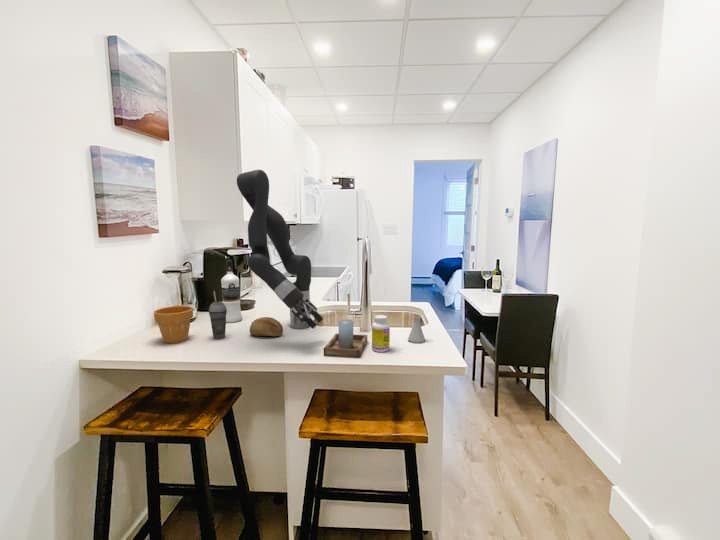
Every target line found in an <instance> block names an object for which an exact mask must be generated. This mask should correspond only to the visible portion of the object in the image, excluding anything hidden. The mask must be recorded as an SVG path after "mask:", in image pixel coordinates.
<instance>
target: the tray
mask: <svg viewBox="0 0 720 540" xmlns="http://www.w3.org/2000/svg"><path fill="white" fill-rule="evenodd" d="M338 338H339V333H335V334H334V336H333V337H331V339H330V340H329V342H327V344H325V346H324V347H323V356H324V357H335V358H352V359H353V358H354V359H359V358H360V357H361V355H362V353H363V351H364V349H365V347H366V345H367V344H366V343H368V335H367V334H355V333H353V348H352V349H341V348H338Z"/></svg>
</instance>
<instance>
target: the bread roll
mask: <svg viewBox="0 0 720 540" xmlns="http://www.w3.org/2000/svg"><path fill="white" fill-rule="evenodd" d="M283 333H284V328H283V326H282V324H281V322H280V321H278V320H277V319H275V318H273V317H271V316H270V317H268V316H263V317H259V318H256V319H254V320H253V321H252V322H251V324H250V326H249V334H250V335H252V336H258V337H259V336H263V337H279V336H282V334H283Z"/></svg>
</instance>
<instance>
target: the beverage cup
mask: <svg viewBox="0 0 720 540" xmlns="http://www.w3.org/2000/svg"><path fill="white" fill-rule="evenodd" d="M213 298H214V301H213V302H212V303H211V304H210V306H209V308H208V315H209V317H210V323H211V324H210V325H211V332H212V336H213V339H214V340H223V339H225V338H226V326H227V323H226V314H227V308H226V306H225V304H224V303H222V301H220V300H219V301H217V297H216V291H215V290H214V291H213ZM222 338H223V339H222Z"/></svg>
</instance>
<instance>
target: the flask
mask: <svg viewBox="0 0 720 540" xmlns="http://www.w3.org/2000/svg"><path fill="white" fill-rule="evenodd" d="M412 318H413V324H412V328H411V329H410V333H409V334H408V335H409V336H408V337H407V342H409V341H410V342H411V343H415V344H416V343H417V344H422V343H425V342H426V338H425V335H424V333H423V329H422V325H421V319H422V318H421V316H419V315H413V316H412ZM424 341H425V342H424Z"/></svg>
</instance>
